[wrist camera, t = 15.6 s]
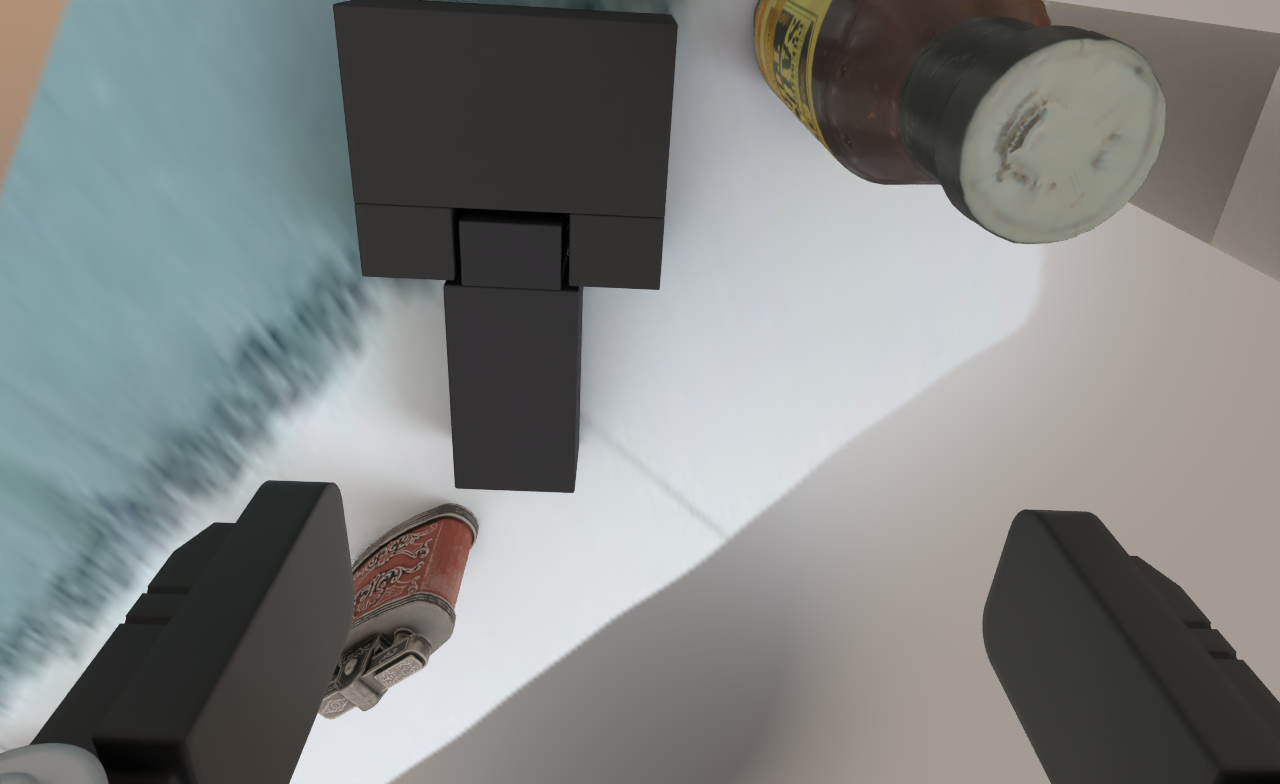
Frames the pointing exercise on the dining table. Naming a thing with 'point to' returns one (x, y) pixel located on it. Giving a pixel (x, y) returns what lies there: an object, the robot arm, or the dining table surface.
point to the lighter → (401, 605)
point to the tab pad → (514, 353)
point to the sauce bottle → (971, 105)
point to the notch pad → (507, 130)
